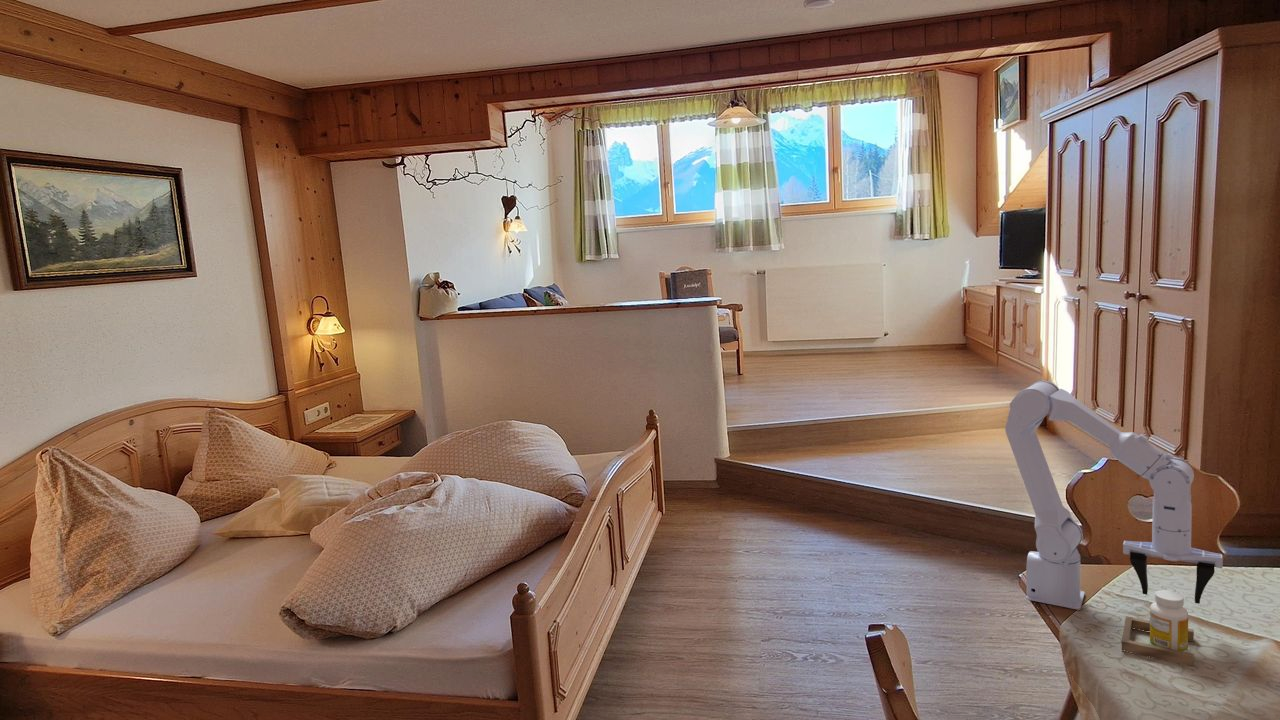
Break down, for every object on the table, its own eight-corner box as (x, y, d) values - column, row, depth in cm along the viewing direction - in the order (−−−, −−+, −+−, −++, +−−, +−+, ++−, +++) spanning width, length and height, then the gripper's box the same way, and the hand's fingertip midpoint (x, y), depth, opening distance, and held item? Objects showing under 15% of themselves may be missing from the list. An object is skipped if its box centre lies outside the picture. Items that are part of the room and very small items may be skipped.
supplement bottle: (1180, 640, 127) (1181, 589, 126) (1192, 657, 122) (1194, 603, 121) (1145, 637, 129) (1145, 586, 127) (1155, 653, 124) (1156, 601, 122)
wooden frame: (1121, 650, 125) (1121, 641, 125) (1125, 625, 133) (1125, 616, 133) (1193, 666, 119) (1193, 656, 119) (1193, 638, 127) (1193, 629, 127)
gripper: (1121, 527, 131) (1121, 597, 133) (1223, 540, 122) (1222, 615, 124) (1124, 514, 137) (1124, 581, 138) (1222, 526, 128) (1221, 598, 130)
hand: (1170, 596), depth 132 cm, fingers open, 7 cm apart
